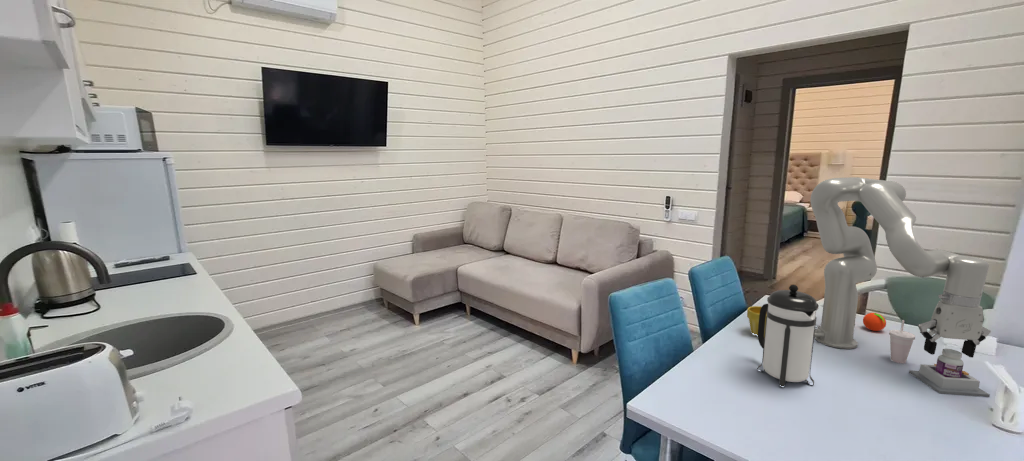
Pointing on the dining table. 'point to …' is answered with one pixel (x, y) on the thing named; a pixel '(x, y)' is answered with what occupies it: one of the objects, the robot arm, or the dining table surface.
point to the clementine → (874, 321)
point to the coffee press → (788, 334)
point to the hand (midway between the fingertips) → (947, 353)
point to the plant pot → (754, 318)
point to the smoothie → (900, 344)
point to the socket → (949, 382)
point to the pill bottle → (950, 363)
